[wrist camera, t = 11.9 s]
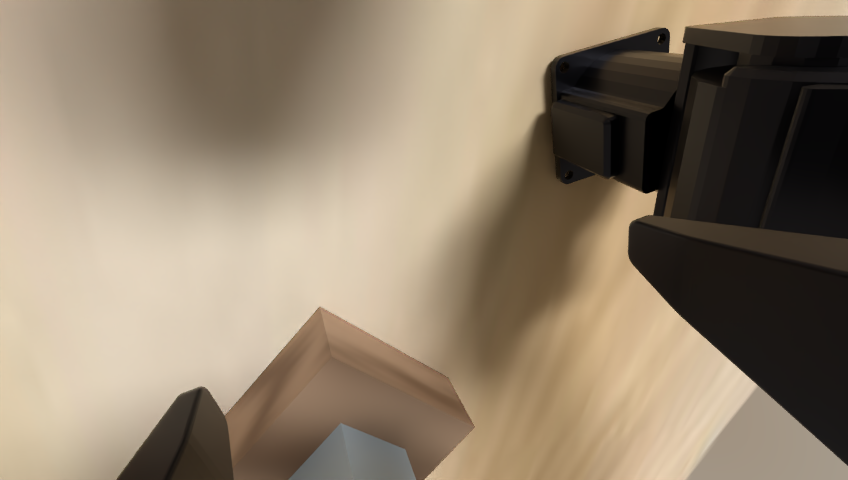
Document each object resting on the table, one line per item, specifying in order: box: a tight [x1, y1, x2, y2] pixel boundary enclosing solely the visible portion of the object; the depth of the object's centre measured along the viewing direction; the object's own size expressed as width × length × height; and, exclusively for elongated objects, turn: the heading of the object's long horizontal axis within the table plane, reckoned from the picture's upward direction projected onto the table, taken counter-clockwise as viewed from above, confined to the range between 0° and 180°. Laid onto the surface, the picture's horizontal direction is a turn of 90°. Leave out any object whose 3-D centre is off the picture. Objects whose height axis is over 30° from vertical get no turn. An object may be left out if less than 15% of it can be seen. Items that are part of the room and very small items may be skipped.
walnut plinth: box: [225, 307, 475, 480], centre depth 25 cm, size 10×10×4 cm
